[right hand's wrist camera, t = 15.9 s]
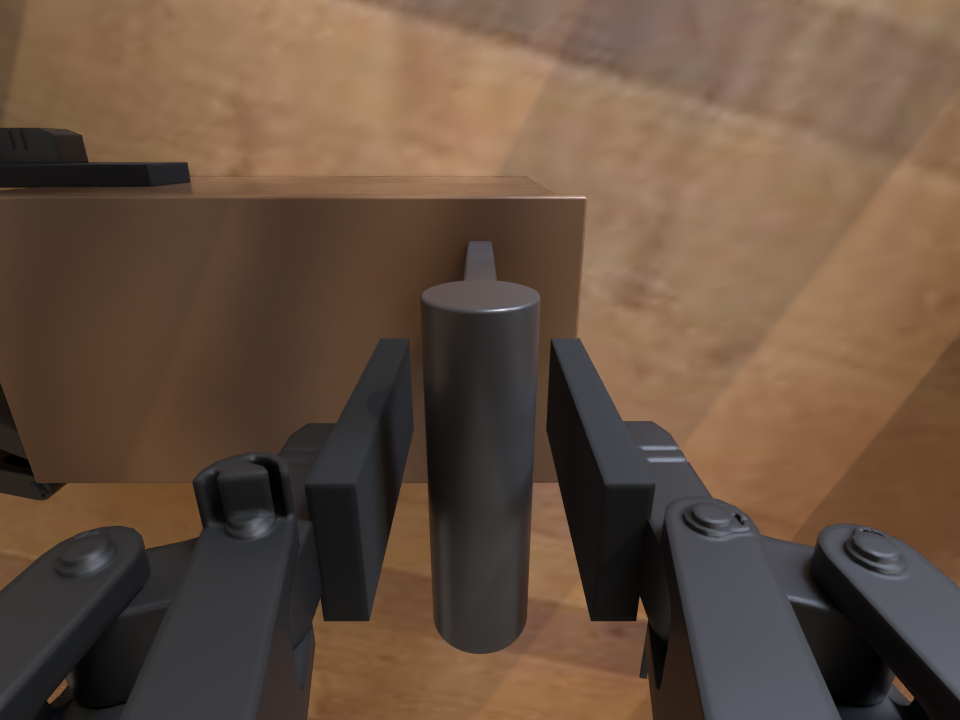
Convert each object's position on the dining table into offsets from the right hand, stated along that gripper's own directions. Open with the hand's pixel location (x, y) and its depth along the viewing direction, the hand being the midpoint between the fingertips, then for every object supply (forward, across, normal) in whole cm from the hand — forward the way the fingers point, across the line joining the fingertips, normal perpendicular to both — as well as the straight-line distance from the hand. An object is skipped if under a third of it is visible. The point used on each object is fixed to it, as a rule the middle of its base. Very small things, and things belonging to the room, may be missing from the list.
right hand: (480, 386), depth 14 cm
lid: (+3, -6, 0) cm, 7 cm away
